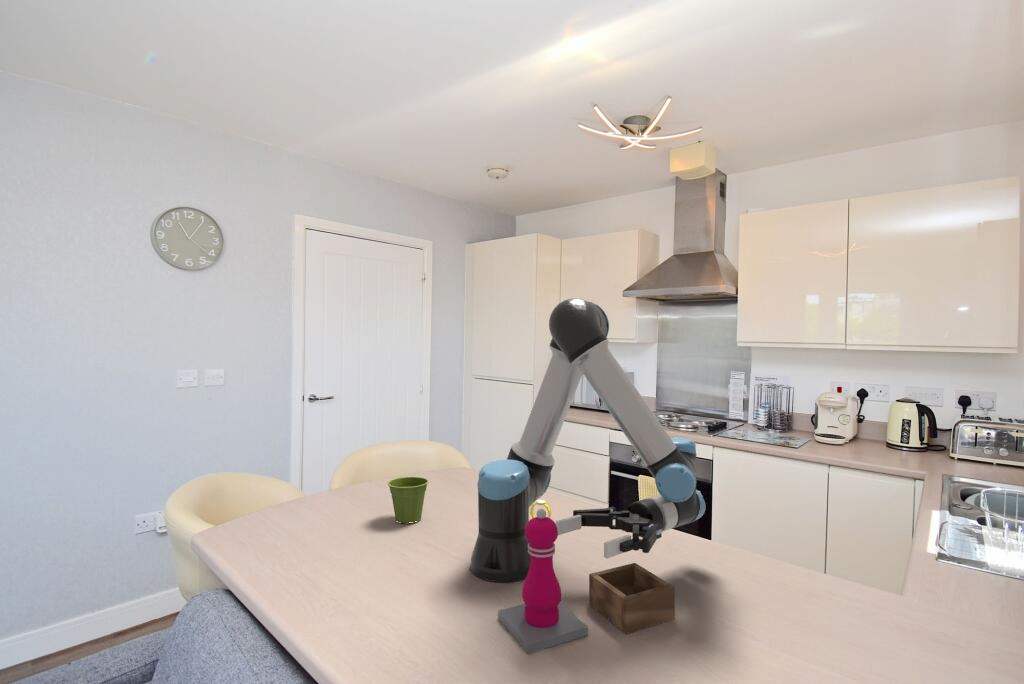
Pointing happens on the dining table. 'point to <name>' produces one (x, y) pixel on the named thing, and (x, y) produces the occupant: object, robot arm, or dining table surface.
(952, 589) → the dining table surface
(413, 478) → the plant pot
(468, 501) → the dining table surface
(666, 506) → the robot arm
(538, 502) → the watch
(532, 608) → the pepper mill
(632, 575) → the walnut collar
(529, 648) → the slate tile
